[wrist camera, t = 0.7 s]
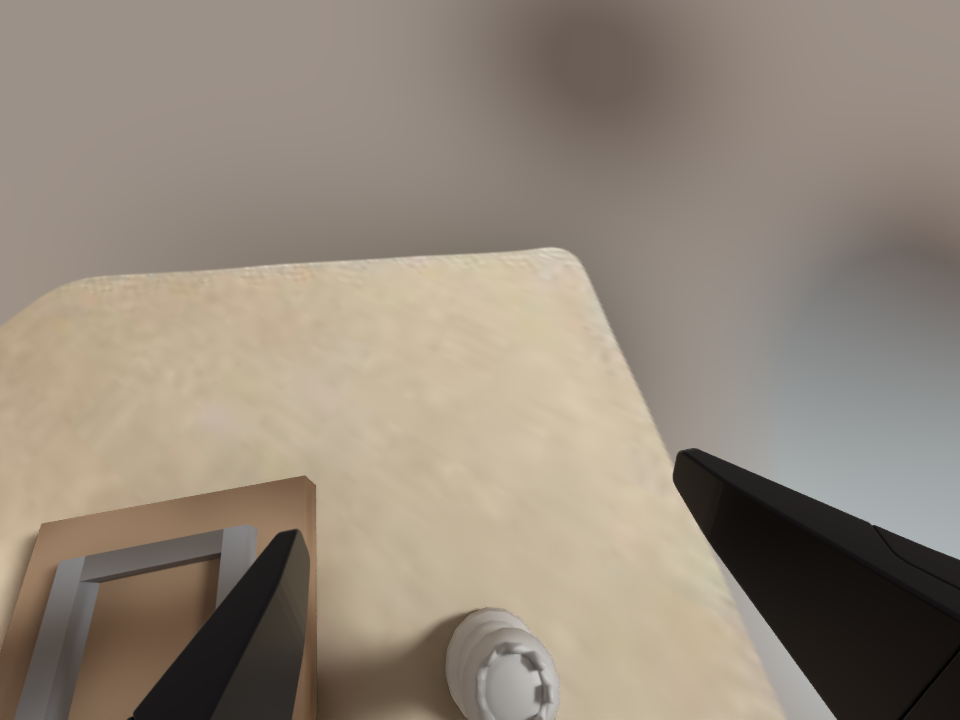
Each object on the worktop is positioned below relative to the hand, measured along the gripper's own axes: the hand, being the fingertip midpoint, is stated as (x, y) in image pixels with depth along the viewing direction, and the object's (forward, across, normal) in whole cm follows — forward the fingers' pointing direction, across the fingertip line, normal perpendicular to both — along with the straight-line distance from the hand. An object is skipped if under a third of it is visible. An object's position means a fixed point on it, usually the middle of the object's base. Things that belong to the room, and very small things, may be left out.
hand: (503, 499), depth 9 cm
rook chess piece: (+4, 0, +14) cm, 15 cm away
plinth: (+7, +14, +12) cm, 20 cm away
